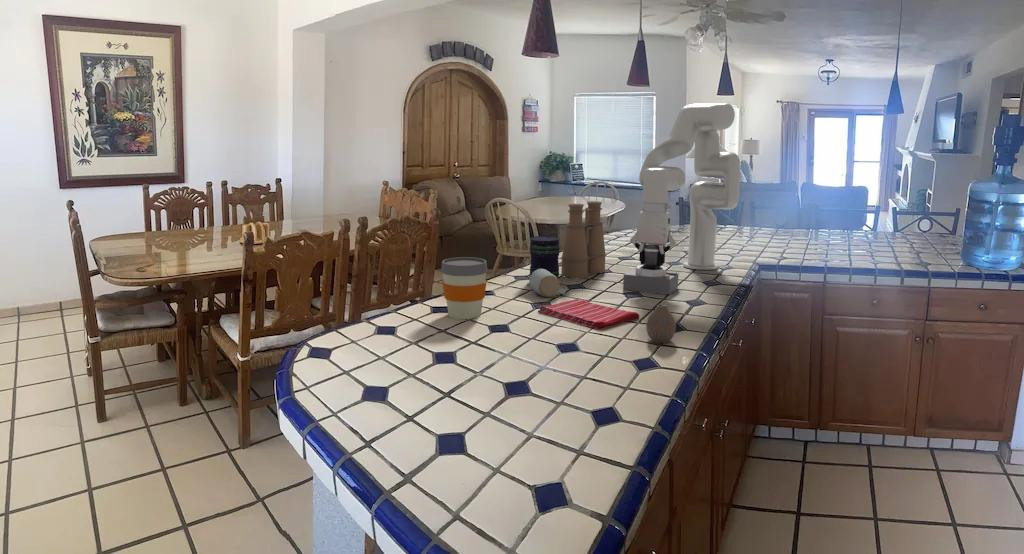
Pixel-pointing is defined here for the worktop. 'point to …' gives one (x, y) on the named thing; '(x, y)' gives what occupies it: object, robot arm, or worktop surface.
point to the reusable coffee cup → (464, 286)
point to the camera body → (651, 280)
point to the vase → (661, 325)
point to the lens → (651, 257)
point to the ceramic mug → (545, 283)
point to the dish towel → (588, 313)
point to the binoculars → (584, 242)
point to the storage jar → (544, 254)
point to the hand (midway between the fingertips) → (651, 264)
